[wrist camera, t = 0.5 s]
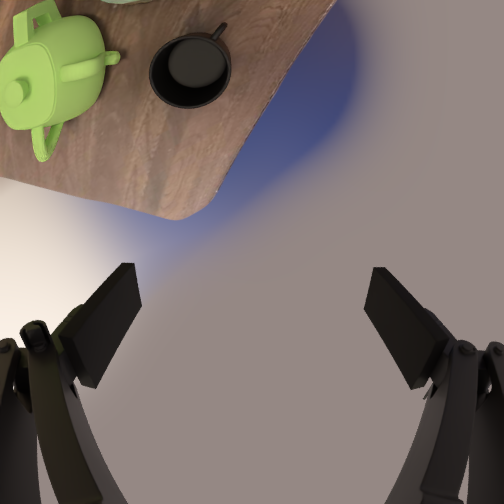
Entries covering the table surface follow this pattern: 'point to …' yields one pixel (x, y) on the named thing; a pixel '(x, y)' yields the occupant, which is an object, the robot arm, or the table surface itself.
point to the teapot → (51, 73)
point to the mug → (191, 69)
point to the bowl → (127, 1)
